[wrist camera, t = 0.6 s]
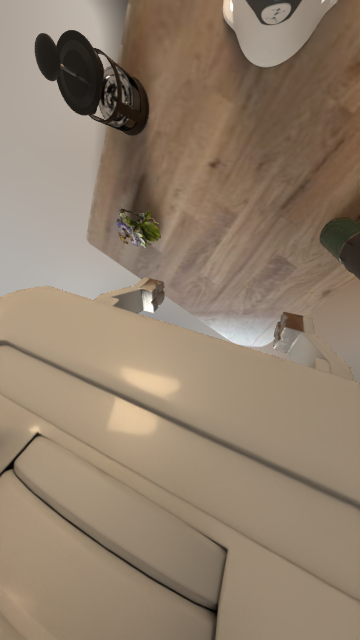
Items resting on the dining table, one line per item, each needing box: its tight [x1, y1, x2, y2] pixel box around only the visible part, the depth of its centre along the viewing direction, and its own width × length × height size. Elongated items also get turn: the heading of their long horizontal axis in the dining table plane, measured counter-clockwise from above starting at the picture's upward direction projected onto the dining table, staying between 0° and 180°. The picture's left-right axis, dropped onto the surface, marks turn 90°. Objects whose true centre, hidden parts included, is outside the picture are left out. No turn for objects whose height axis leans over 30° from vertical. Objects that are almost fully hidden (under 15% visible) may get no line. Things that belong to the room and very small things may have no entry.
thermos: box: [320, 218, 360, 265], centre depth 38 cm, size 7×7×17 cm
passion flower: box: [117, 209, 161, 248], centre depth 56 cm, size 11×11×12 cm
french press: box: [35, 30, 149, 136], centre depth 36 cm, size 12×9×23 cm
